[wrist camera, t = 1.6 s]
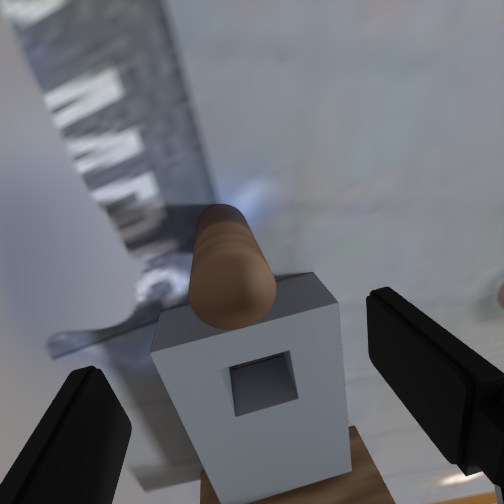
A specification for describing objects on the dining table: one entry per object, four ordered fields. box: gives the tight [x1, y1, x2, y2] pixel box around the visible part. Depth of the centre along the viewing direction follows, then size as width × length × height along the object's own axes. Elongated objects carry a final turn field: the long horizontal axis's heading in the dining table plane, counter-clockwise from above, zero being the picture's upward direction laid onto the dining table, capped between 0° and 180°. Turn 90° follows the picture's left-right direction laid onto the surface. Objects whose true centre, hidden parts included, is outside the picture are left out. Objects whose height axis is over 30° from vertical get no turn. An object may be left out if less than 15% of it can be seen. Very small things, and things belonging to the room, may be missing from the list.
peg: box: [188, 204, 276, 330], centre depth 17 cm, size 4×4×10 cm
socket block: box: [150, 272, 352, 504], centre depth 26 cm, size 22×14×5 cm, turn 12°
